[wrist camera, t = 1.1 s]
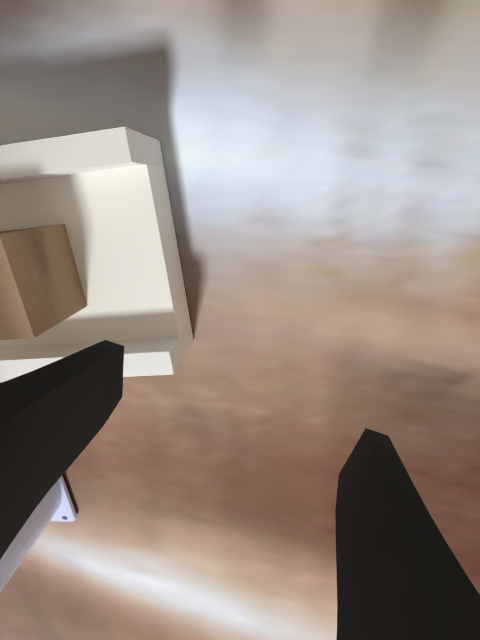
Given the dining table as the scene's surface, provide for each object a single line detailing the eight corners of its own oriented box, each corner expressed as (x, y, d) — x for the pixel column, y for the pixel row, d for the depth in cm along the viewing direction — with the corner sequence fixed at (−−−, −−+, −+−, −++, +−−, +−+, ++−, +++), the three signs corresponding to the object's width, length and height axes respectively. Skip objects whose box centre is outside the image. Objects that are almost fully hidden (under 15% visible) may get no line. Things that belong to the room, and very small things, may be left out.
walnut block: (15, 311, 22) (-55, 343, 18) (-12, 232, 21) (-97, 245, 16) (87, 306, 22) (34, 337, 17) (64, 224, 20) (-1, 234, 15)
